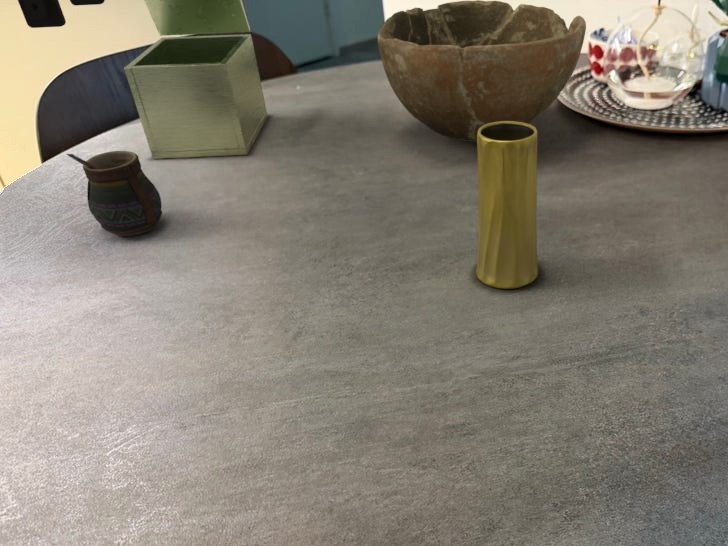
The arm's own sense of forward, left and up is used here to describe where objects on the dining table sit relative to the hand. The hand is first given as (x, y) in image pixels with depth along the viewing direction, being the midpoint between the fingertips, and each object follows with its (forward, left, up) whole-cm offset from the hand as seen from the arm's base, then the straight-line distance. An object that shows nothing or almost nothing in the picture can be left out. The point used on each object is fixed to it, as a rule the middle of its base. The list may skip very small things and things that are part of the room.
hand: (69, 14), depth 67 cm
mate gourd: (0, -2, -22) cm, 22 cm away
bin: (+2, +27, -22) cm, 35 cm away
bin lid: (+2, +32, -2) cm, 32 cm away
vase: (+41, -16, -22) cm, 49 cm away
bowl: (+41, +24, -22) cm, 52 cm away
